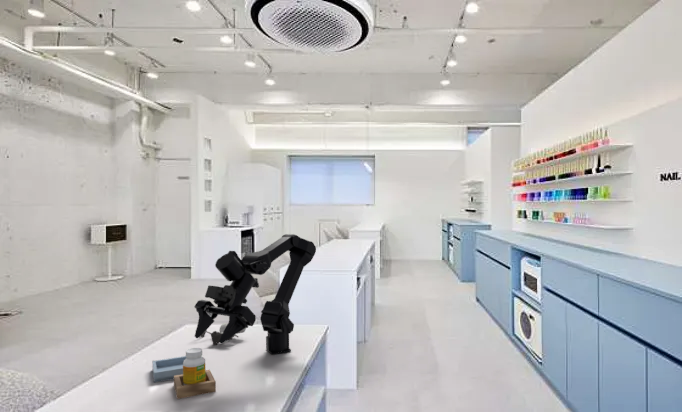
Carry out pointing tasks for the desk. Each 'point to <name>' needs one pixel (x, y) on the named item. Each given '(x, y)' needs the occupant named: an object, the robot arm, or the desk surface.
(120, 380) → the desk surface
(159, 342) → the desk surface
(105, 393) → the desk surface
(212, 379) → the frame
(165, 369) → the tray
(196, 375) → the supplement bottle
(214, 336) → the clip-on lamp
